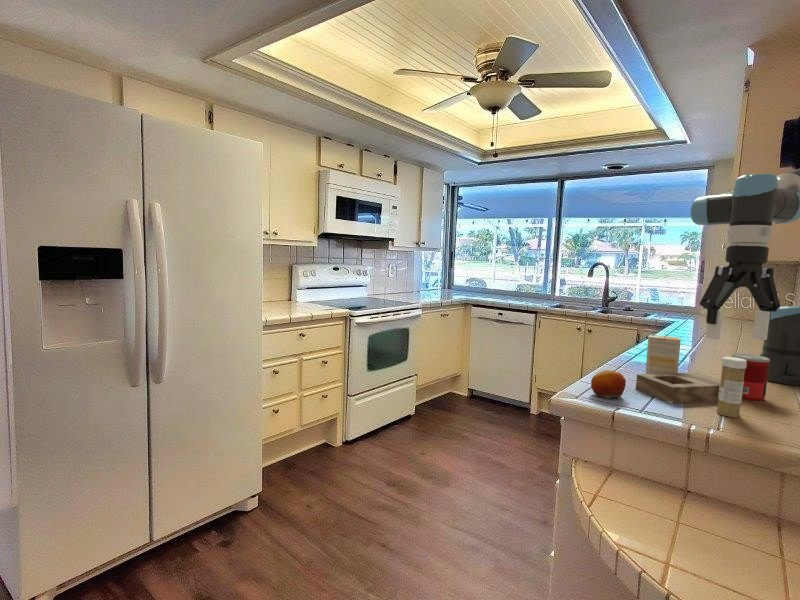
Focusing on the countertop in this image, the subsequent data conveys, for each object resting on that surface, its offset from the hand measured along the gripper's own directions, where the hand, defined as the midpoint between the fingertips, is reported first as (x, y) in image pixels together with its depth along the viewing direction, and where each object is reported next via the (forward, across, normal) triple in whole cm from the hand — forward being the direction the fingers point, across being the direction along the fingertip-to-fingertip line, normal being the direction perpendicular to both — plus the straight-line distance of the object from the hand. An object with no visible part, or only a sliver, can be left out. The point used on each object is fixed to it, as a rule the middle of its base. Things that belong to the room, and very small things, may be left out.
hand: (736, 338), depth 101 cm
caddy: (+18, +3, +15) cm, 24 cm away
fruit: (+18, -20, +16) cm, 31 cm away
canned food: (+18, +19, +11) cm, 29 cm away
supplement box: (+18, +8, +28) cm, 34 cm away
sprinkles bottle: (+18, 0, 0) cm, 18 cm away
